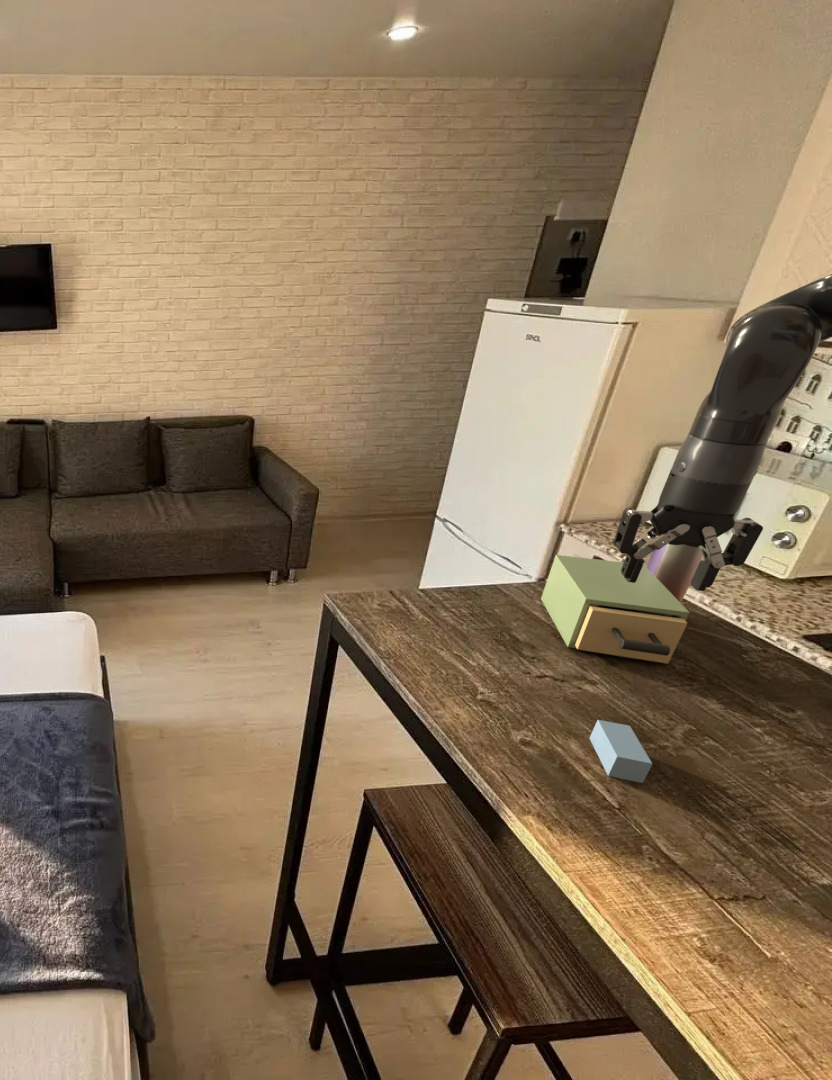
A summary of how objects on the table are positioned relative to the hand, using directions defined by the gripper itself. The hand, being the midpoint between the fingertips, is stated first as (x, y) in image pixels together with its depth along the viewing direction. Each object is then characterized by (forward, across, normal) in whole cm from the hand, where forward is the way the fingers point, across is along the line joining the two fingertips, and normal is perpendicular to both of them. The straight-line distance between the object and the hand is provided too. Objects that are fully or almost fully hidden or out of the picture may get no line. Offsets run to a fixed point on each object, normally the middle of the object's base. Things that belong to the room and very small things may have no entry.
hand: (662, 583), depth 81 cm
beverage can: (+15, -11, -21) cm, 28 cm away
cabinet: (+15, 0, -11) cm, 19 cm away
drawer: (+14, 0, -7) cm, 15 cm away
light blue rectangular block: (+15, +8, +22) cm, 27 cm away
